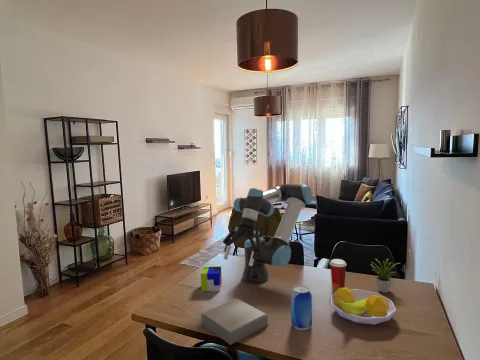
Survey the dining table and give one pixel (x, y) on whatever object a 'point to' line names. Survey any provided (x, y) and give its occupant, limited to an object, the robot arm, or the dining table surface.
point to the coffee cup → (338, 273)
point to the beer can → (301, 308)
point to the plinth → (234, 320)
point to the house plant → (383, 276)
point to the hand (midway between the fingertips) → (237, 262)
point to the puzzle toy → (211, 279)
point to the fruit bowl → (362, 306)
